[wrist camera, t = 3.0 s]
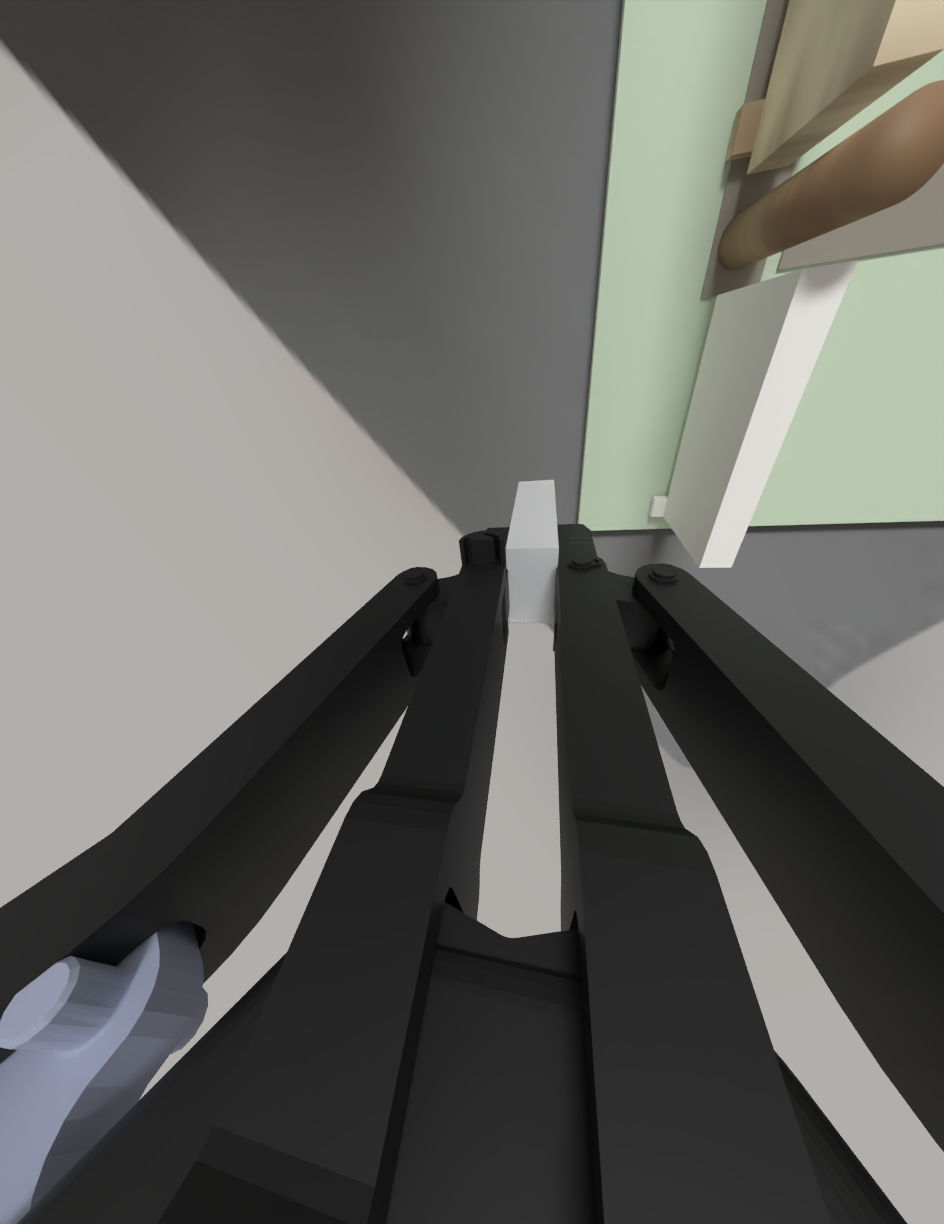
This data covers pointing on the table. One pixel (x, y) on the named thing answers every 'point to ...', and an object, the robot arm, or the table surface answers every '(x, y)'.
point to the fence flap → (746, 405)
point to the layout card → (693, 277)
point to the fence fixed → (838, 122)
